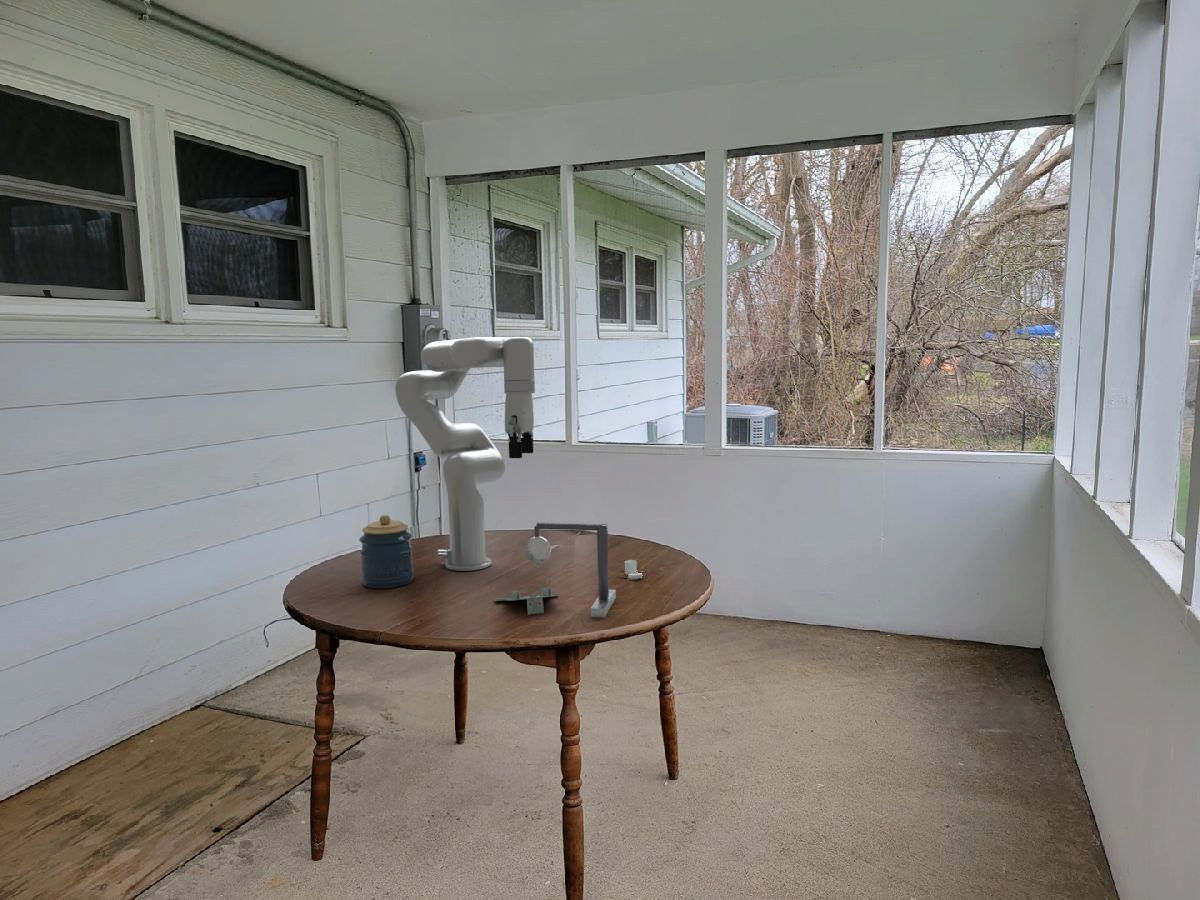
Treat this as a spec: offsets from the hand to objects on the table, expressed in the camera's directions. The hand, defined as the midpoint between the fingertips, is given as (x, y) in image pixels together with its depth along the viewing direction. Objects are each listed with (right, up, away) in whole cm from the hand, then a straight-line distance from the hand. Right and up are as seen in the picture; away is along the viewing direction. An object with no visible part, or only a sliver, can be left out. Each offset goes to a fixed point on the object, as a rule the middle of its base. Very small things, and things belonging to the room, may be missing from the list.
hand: (521, 455), depth 196 cm
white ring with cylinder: (+26, -32, +5) cm, 41 cm away
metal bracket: (+4, -35, -16) cm, 39 cm away
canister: (-35, -33, +5) cm, 48 cm away
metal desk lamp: (+12, -34, -17) cm, 40 cm away
